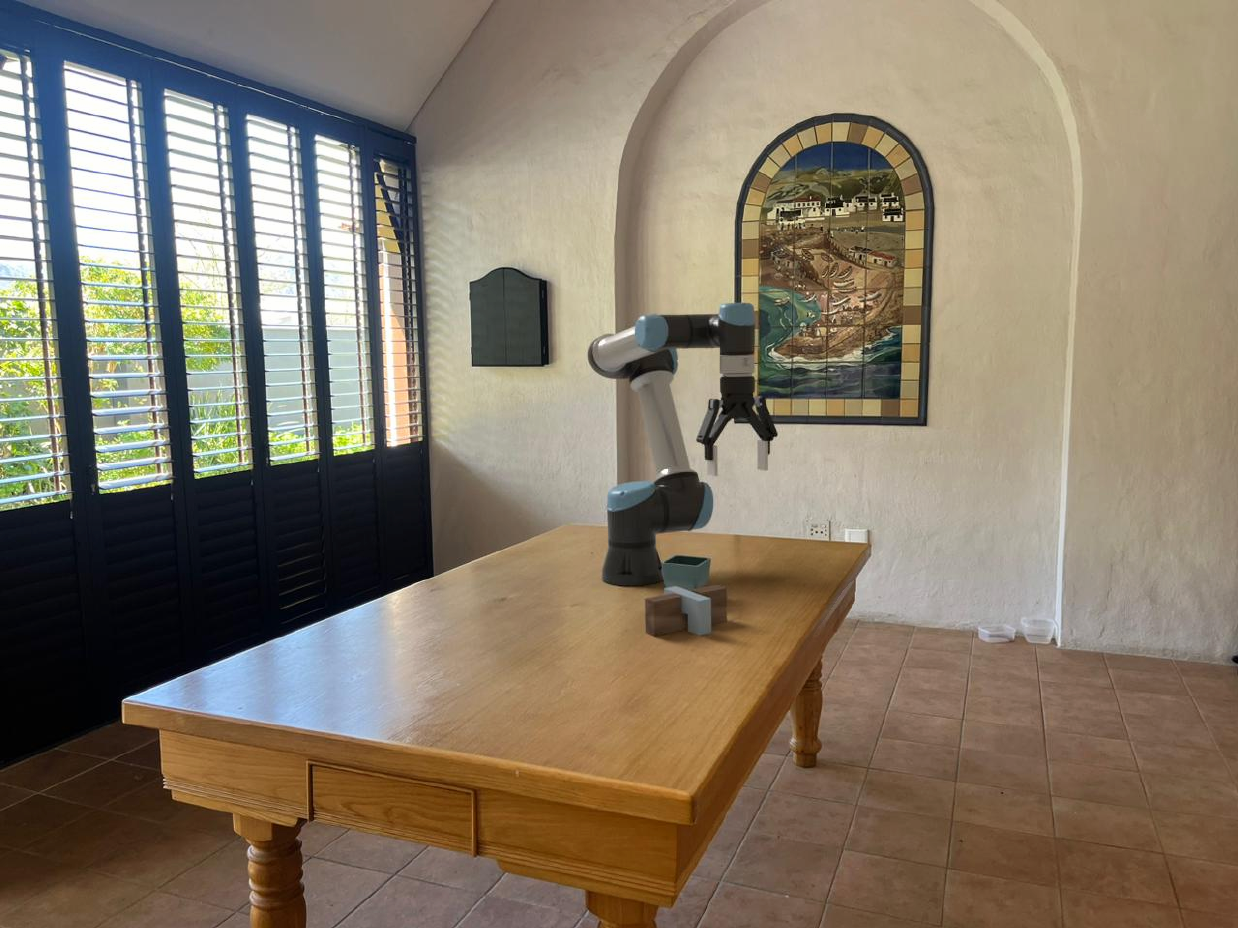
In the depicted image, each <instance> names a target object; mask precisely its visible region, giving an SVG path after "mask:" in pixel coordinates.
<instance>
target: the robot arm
mask: <svg viewBox="0 0 1238 928" xmlns="http://www.w3.org/2000/svg"><path fill="white" fill-rule="evenodd" d="M718 309H719V310H718V313H707V314H705V313H704V314H703V313H700V314H698V313H697V314H696V313H695V314H658V313H653V314H646V315H645V314H644V315H641V316H640V317H639V318H638V319H637V321H636V323H635V324H634V326H632V327H630V328H627V329H625V330H622V331H620V332H618V333H606V334H602V335H599V336H598V337H596V338H595V339H594V340H593V341H591V343H590V345H589V347H588V350H587V361H588V364H589V365H590V367H591V369H592V370H593V371H594V372H595V373H596V374H598V375H600V376H601V377H604V378H607V379H611V380H628V383H629V386H630V389H632V391H634V392H636V393H637V395H638V399H639V403H640V408H641V412H642V416H643V421H644V425H645V429H646V430H645V431H646V434H647V438H648V442H649V446H650V452H651V455H652V459H653V463H654V467H655V473H656V477H655V479H654V481H650V480H639V481H630V482H624V483H620V484H617V485H615V486H613V487H612V488H610V489H609V491H608V493H607V499H606V500H607V502H606V504H607V505H606V511H607V541H608V542H607V543H608V546H607V552H606V555H605V557H604V558H605V559H604V561H603V565H602V569H601V579H602V581H603V582H605V583H608V584H611V585H617V586H643V585H644V586H645V585H651V584H655V583H658V582H661V581H662V580H664V578H663V570H662V561H661V559H660V558H661V557H660V555H659V551H658V549H657V544H656V542H657V537H656V535H658V534H667V533H676V532H686V531H687V532H692V531H694V530H699V529H703V528H705V527H706V526H707V525H708V524H709V522H710V521H711V518H712V515H713V511H714V494H713V491H712V488H711V486H710V485H709V483H707V482H705V481H700V476H699V473H698V471H696V470H695V469H692V468H691V466H690V462H689V457H688V454H687V450H686V446H685V441H684V437H683V433H682V429H681V426H680V424H681V423H680V420H679V417H678V413H677V408H676V405H675V401H674V400H675V399H674V397H673V392H672V388H671V384H672V382H673V381H674V377H675V376H674V375H676V373H677V371H678V367H679V362H678V360H679V355H678V351H677V349H681V350H682V349H683V350H685V349H719V374H721V375H722V376H720V378H719V392H720V394H721V397H720V399H718V398H710V399H708V404H707V405H708V406H707V411H706V414H705V416H704V418H703V420H702V423H701V426H700V428H699V431H698V434H697V437H696V440H695V441H696V442H697V443H699V444H702V445H703V446H704V460H705V461H707V462H706V465H707V468H706V469H707V473H706V474H707V476H713V477H717V476H718V477H719V475H718V473H719V472H718V445H715V443H716V441H717V440H718V439H719V438H720V436H721V434H722V433H723V431H724V429H725V428H726V426H727V425H728V423H729V422H730V421H732V420H733V419H735V420H736V419H737V420H738V419H746V420H747V423H749V425H750V426H751V428H752V429H753V430H754V431H755V433H756V434H757V436H758V437H759V438H760V439H759V440H757V442H756V443H757V444H756V445H757V448H756V449H757V470H760V471H765V472H766V471H768V470H769V455H770V453H771V442H772V441H774V439H775V438H777V437H778V435H779V434H778V430H777V428H776V426H775V424H774V421H773V419H772V417H771V413H770V412H769V409H768V406H767V398H766V396H761V395H756V396H755V397H754V393H755V392H756V378H755V376H754V375H753V374H754V373H755V372H756V370H755V369H756V365H755V363H756V360H755V358H756V356H755V350H756V348H755V347H756V346H755V345H756V319H755V307H754V305H753V304H752V303H750V302H727V303H725V302H724V303H722V304H721V305H720V306H719V308H718ZM753 407H755V409H756V411H755V410H754V408H753ZM720 409H722V410H721V411H720ZM758 417H759V418H758Z"/></svg>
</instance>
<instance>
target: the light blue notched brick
mask: <svg viewBox="0 0 1238 928" xmlns="http://www.w3.org/2000/svg"><path fill="white" fill-rule="evenodd" d="M672 593H674V594H676V595H679V596H681V600H682V612H683V613H686V614H688V629H687V632H688V633H691V634H693V635H696V636H698V637H700V636H704V635H705V636H706V635H710V634H712V624H711V599H710V598H707V597H705V596H702V595H699V594H696V593H694V592H691V591H688V590H685V589H683V588H680V587H677V586H674V587H669V588H666V587H664V588H663V595H666V594H672Z"/></svg>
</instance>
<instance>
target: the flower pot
mask: <svg viewBox="0 0 1238 928" xmlns="http://www.w3.org/2000/svg"><path fill="white" fill-rule="evenodd" d="M711 560H712V558H711V557H704V556H693V555H683V554H682V555H681V554H675V555H673V556H671V557H669V558H668V559H666V560H664V561H661V563H662V570H663V583H664V586H665V587H664V588H669V587H674V586H677V587H680V588H683V589H685V590H688V591H691V592H692V590H693V589H698V588H704V587H707V585H708V581H709V577H710V568H711V562H712V561H711Z"/></svg>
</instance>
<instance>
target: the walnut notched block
mask: <svg viewBox="0 0 1238 928" xmlns="http://www.w3.org/2000/svg"><path fill="white" fill-rule="evenodd" d="M727 591H728V589H727V587H726V586H723V585H720V584H715V585H710V586H706V587H704V588H698V589H693V590H692V592H694V593H696V594H699V595H702V596H705V597H707V598H710V599H711V625H714V624H719V623H724V622H727V621H728V595H727V594H728V592H727ZM644 611H645V612H644V616H645V619H644V620H645V634H647V635H650V636H652V637H657V636H663V635H669V634H672V633H677V632H681V631H688V614H686V613H683V612H682V600H681V596H679V595H676V594H674V593H672V594H666V595H664V594H663V595H656V596H651V597H645V598H644Z"/></svg>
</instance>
